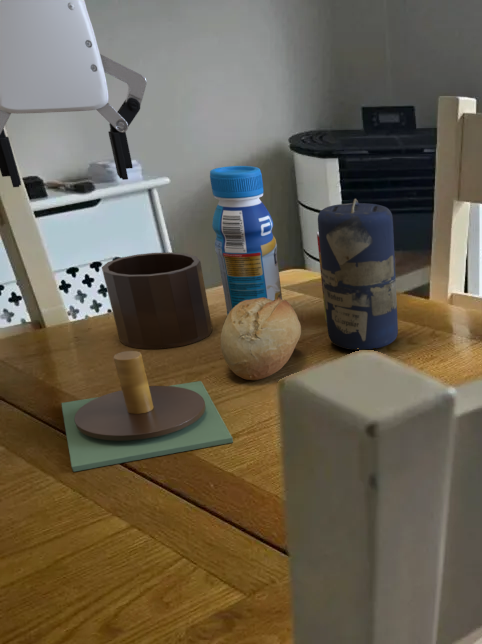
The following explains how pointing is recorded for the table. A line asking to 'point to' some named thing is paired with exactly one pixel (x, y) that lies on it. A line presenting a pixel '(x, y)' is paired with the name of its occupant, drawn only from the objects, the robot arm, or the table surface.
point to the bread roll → (259, 337)
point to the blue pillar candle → (358, 274)
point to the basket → (158, 300)
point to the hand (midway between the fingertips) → (71, 181)
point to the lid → (138, 406)
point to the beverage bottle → (244, 236)
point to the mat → (110, 452)
